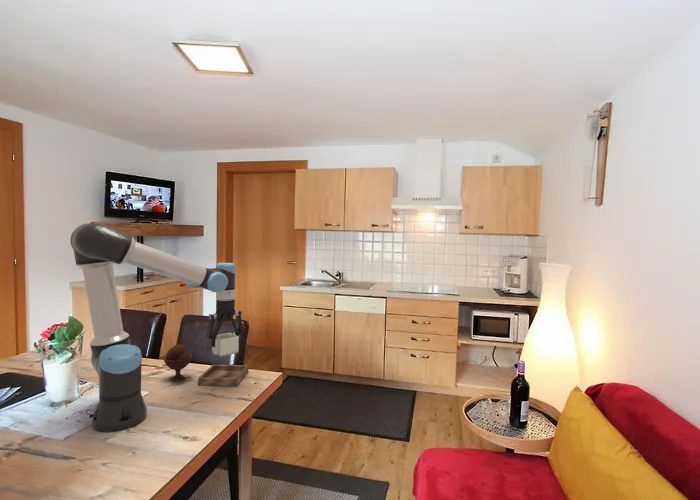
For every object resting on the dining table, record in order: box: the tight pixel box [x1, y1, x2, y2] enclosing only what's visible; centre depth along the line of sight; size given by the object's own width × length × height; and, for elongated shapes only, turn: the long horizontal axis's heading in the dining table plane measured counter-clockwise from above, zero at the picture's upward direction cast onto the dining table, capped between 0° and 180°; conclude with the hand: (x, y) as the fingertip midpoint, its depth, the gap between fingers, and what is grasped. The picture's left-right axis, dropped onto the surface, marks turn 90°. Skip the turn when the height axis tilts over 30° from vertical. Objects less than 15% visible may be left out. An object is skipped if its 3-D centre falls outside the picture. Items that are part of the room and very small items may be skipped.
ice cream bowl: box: [163, 343, 193, 382], centre depth 155 cm, size 11×11×15 cm
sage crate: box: [211, 332, 240, 358], centre depth 156 cm, size 8×8×7 cm
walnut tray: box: [197, 364, 249, 388], centre depth 157 cm, size 16×16×3 cm
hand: (225, 351), depth 156 cm, fingers closed on sage crate, 8 cm apart
